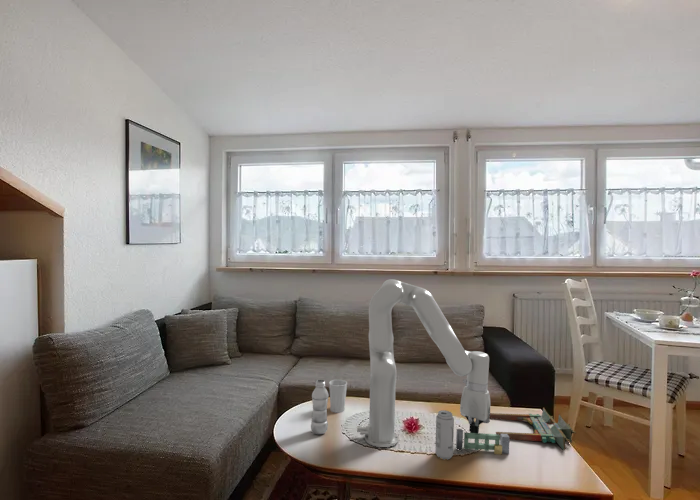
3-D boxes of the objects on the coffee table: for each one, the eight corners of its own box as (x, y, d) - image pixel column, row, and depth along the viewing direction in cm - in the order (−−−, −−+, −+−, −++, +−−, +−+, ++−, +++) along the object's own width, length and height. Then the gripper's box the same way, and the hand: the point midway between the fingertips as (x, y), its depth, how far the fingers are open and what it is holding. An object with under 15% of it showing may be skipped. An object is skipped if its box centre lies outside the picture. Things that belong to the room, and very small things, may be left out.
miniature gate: (487, 405, 176) (561, 407, 170) (488, 418, 176) (562, 420, 170) (497, 433, 150) (585, 437, 144) (498, 448, 150) (586, 453, 144)
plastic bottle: (307, 432, 154) (308, 380, 154) (321, 427, 159) (322, 377, 158) (317, 438, 149) (318, 385, 149) (331, 433, 154) (332, 381, 154)
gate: (464, 449, 143) (465, 434, 143) (463, 447, 144) (464, 432, 144) (499, 451, 142) (499, 435, 142) (498, 449, 143) (498, 434, 143)
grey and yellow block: (494, 454, 141) (495, 437, 141) (492, 449, 144) (492, 433, 144) (509, 455, 141) (510, 438, 141) (506, 450, 144) (507, 433, 144)
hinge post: (456, 450, 143) (457, 431, 143) (455, 447, 145) (456, 428, 145) (462, 451, 143) (463, 431, 143) (461, 448, 145) (462, 428, 145)
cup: (338, 404, 181) (339, 378, 181) (350, 410, 175) (350, 383, 175) (324, 408, 176) (325, 382, 176) (335, 415, 170) (336, 387, 170)
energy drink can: (452, 461, 135) (453, 418, 135) (434, 458, 137) (435, 415, 137) (453, 452, 141) (454, 411, 141) (436, 450, 143) (436, 408, 143)
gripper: (453, 382, 149) (450, 431, 150) (493, 393, 140) (490, 445, 141) (461, 378, 155) (458, 424, 156) (500, 388, 146) (497, 437, 147)
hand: (473, 434), depth 148 cm, fingers closed
